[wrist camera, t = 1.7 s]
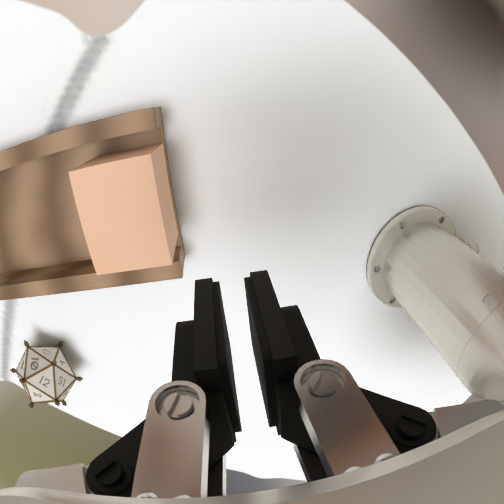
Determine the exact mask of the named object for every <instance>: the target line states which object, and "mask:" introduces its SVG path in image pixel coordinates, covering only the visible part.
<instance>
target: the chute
mask: <svg viewBox="0 0 504 504" xmlns="http://www.w3.org/2000/svg"><path fill="white" fill-rule="evenodd" d="M160 143H163V146H164V153H165V160H166V166H167V172H168V179H169V185H170V191H171V196H172V202H173V208H174V213H175V219H176V224H177V229H178V236H177V241H176V246H175V252H174V257H173V263H172V265H167V266H160V267H153V268H146V269H139V270H131V271H124V272H117V273H110V274H102V275H97V274H96V271H95V268H94V265H93V262H92V259H91V256H90V252H89V249H88V246H87V243H86V239H85V236H84V232H83V229H82V225H81V222H80V218H79V214H78V210H77V207H76V203H75V199H74V194H73V190H72V186H71V182H70V177H69V171H71V170H73V169H75V168H76V167H78V166H80V165H82V164H83V163H85V162H87V161H89V160H91V159H92V158H94V157H97V156H101V155H105V154H110V153H114V152H119V151H124V150H129V149H133V148H139V147H144V146H149V145H154V144H160ZM184 259H185V255H184V250H183V245H182V240H181V235H180V230H179V224H178V219H177V213H176V208H175V202H174V196H173V190H172V184H171V178H170V172H169V166H168V159H167V153H166V146H165V139H164V132H163V124H162V117H161V109H160V108H150V109H145V110H140V111H135V112H131V113H126V114H122V115H117V116H113V117H109V118H105V119H101V120H97V121H93V122H89V123H86V124H82V125H78V126H75V127H71V128H68V129H65V130H61V131H58V132H55V133H52V134H49V135H46V136H43V137H40V138H37V139H34V140H31V141H28V142H25V143H23V144H20V145H17V146H15V147H12V148H9V149H7V150H4V151H2V152H0V300H7V299H16V298H25V297H34V296H43V295H51V294H60V293H68V292H76V291H84V290H93V289H101V288H109V287H117V286H124V285H132V284H140V283H148V282H155V281H163V280H170V279H178V278H182V277H183V268H184Z"/></svg>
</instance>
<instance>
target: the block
mask: <svg viewBox="0 0 504 504" xmlns="http://www.w3.org/2000/svg"><path fill="white" fill-rule="evenodd" d="M69 177H70V182H71V186H72V190H73V194H74V199H75V203H76V207H77V210H78V214H79V218H80V222H81V225H82V229H83V232H84V236H85V239H86V243H87V246H88V249H89V252H90V256H91V259H92V262H93V265H94V268H95V271H96V274H97V275H102V274H110V273H117V272H124V271H131V270H139V269H146V268H153V267H160V266H167V265H172V263H173V257H174V252H175V246H176V241H177V236H178V229H177V224H176V219H175V213H174V208H173V202H172V196H171V191H170V185H169V179H168V172H167V166H166V160H165V153H164V146H163V143H160V144H154V145H149V146H144V147H139V148H133V149H129V150H124V151H119V152H114V153H110V154H105V155H101V156H97V157H94V158H92V159H91V160H89V161H87V162H85V163H83V164H82V165H80V166H78V167H76V168H75V169H73V170H71V171H69Z"/></svg>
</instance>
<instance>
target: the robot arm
mask: <svg viewBox="0 0 504 504" xmlns="http://www.w3.org/2000/svg"><path fill="white" fill-rule="evenodd" d="M478 252H479V246H478V245H477V243H472V244H468V245H467V244H465V243H464V242H462V241H461V240H459V239H458V238H457V237H456V232H455V228H454V226H453V224H452V222H451V220H450V219H449V218H448V217H447V216H446V215H445V214H444V213H442V212H440V211H439V210H437V209H435V208H432V207H426V206H421V207H414V208H411V209H408V210H406V211H404V212H402V213H401V214H399V215H397V216H396V217H395V218H394V219H392V220H391V221H390V222H389V223H388V224H387V225H386V226H385V228H384V229H383V230H382V231H381V233H380V234H379V236H378V237H377V239H376V240H375V243H374V245H373V247H372V249H371V252H370V255H369V258H368V265H367V278H368V282H369V286H370V288H371V289H372V291H373V293H374V294H375V295H376V296H377V298H378V299H379V300H380V301H382V302H383V303H385V304H387V305H389V306H394V307H403V308H404V309H405V310H406V312H407V313H408V314H409V315H410V316H411V318H412V319H413V320H414V321H415V323H416V324H417V325H418V326H419V328H420V329H421V330H422V331H423V333H424V334H425V335H426V336H427V338H428V339H429V340H430V341H431V343H432V344H433V345H434V347H435V348H436V349H437V350H438V352H439V353H440V354H441V356H442V357H443V358H444V360H445V361H446V362H447V364H448V365H449V366H450V368H451V369H452V370H453V372H454V373H455V374H456V376H457V377H458V378H459V379H460V381H461V382H462V383H463V385H464V386H465V387H466V388H467V390H468V391H469V392H470V393H472V394H473V395H475V396H476V397H478V398H480V399H483V401H477V402H472V403H467V404H461V405H454V406H448V407H441V408H434V410H433V412H427V411H425V410H423V409H421V408H419V407H415V406H412V405H409V404H406V403H403V402H400V401H397V400H394V399H391V398H388V397H385V396H382V395H380V394H377V393H374V392H371V391H368V390H365V389H363V388H360V387H359V386H358V385H357V383H356V382H355V380H354V379H353V377H352V375H351V374H350V372H349V371H348V370H347V369H346V368H345V366H343V365H341V364H340V363H338V362H335V361H332V360H323V359H320V357H319V355H318V352H317V350H316V348H315V345H314V343H313V340H312V338H311V336H310V333H309V331H308V329H307V326H306V324H305V322H304V319H303V317H302V315H301V312H300V310H299V308H298V306H297V305H294V306H288V307H282V308H280V306H279V303H278V300H277V297H276V294H275V291H274V289H273V286H272V283H271V280H270V277H269V275H268V272H267V270H264V271H257V272H250V277H246V278H244V281H245V289H246V298H247V306H248V315H249V323H250V331H251V339H252V346H253V351H254V356H255V361H256V366H257V371H258V375H259V380H260V385H261V390H262V395H263V399H264V404H265V409H266V413H267V418H268V423H269V427H273V426H276V428H277V432H278V435H281V437H282V438H284V439H286V440H288V441H290V442H292V443H293V445H294V449H295V452H296V454H297V457H298V459H299V462H300V465H301V467H302V470H303V472H304V475H305V477H306V480H307V482H308V483H303V484H299V485H294V486H289V487H284V488H278V489H273V490H266V491H260V492H252V493H246V494H237V495H227V496H226V456H225V454H226V453H227V452H228V451H229V450H230V449H231V448H232V447H233V446H234V442H236V437H235V432H240V431H242V430H241V423H240V416H239V409H238V401H237V394H236V387H235V379H234V371H233V364H232V356H231V348H230V342H229V337H228V331H227V325H226V320H225V314H224V308H223V302H222V296H221V290H220V284H219V281H218V282H213V281H212V278H208V279H200V280H195V299H194V320H191V321H183V322H177V323H176V331H175V342H174V355H173V370H172V382H169V383H167V384H164V385H163V386H161V387H160V388H158V389H157V390H156V391H155V392H154V393H153V395H152V396H151V399H150V401H149V405H148V410H147V415H146V419H145V420H144V421H143V422H141V423H140V424H139V425H138V426H136V427H135V428H134V429H133V430H131V431H130V432H129V433H127V434H126V435H125V436H124V437H122V438H121V439H120V440H119V441H117V442H116V443H115V444H113V445H112V446H111V447H109V448H108V449H107V450H105V451H104V452H103V453H101V454H100V455H99V456H97V457H96V458H95V459H94V460H93V461H92V462H91V463H90V465H87V466H83V464H82V463H80V464H74V465H68V466H62V467H55V468H48V469H40V470H31V471H27V472H24V473H23V474H22V475H21V476H20V477H19V478H18V480H17V482H16V486H15V487H11V488H3V489H0V504H504V406H503V405H502V404H501V403H500V402H504V273H502V272H501V271H500V270H499V269H497V268H496V267H495V266H493V265H492V264H491V263H489V262H488V261H487V260H486V259H484V258H483V257H482V256H480V255H479V254H478Z"/></svg>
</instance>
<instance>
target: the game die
mask: <svg viewBox="0 0 504 504" xmlns="http://www.w3.org/2000/svg"><path fill="white" fill-rule="evenodd" d="M24 344H25V346H26V347H27V349H26V351H25V353H24V355H23V357H22V359H21V361H20V363H19V365H18V367H17V369H16V370H15V369H13V368H12V369H11V370H10V371H12V372H14V373H15V372H16V373H17V375H18V377H19V379H20V380H19V381H20V382H21V383H22V385H23V387H24V389H25V391H26V393H27V395H28V397H29V399H30V400H31V403H30V405H29V407H30V408H32V407H33V406H34V405H33V404H34V403H48V402H55V403H56V405H58V406H59V404H60V403H59V402H62V403H63V405H65V406H66V402H65V401H64V399H65V397H66V395H67V394H68V392H69V390H70V389H71V387H72V385H73V384H74V382H75V381H76V380H78V381H79V380H82V379H83V378H81V377H76V376H75V374H74V373H73V371H72V369H71V367H70V365H69V364H68V362H67V360H66V358H65V356H64V354H63V353H62V351H61V349H60V348H61V347H62V345H63V343H62V342H60V343H59V344H58V347H45V346H29V344H28V342H26V341H25V340H24Z"/></svg>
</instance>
